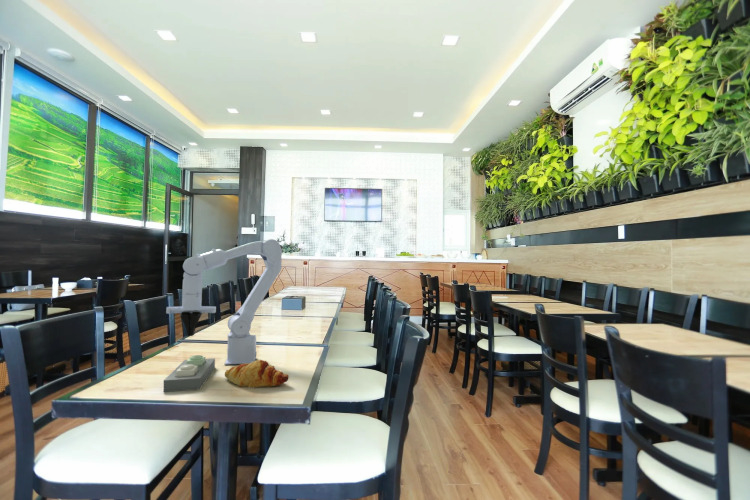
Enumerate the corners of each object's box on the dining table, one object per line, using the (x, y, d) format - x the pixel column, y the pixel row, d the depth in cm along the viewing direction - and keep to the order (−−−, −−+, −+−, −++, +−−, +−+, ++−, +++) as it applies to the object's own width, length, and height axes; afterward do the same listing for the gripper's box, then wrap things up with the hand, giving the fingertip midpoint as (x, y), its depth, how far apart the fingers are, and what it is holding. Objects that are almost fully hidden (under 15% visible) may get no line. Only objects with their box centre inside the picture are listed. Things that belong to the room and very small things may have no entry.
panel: (214, 367, 119) (214, 358, 119) (199, 389, 99) (200, 378, 100) (184, 369, 117) (184, 359, 117) (163, 391, 97) (163, 380, 97)
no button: (197, 375, 106) (197, 363, 106) (193, 380, 102) (193, 367, 102) (180, 376, 105) (181, 364, 105) (176, 381, 101) (176, 368, 101)
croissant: (218, 394, 105) (209, 373, 102) (238, 368, 114) (230, 349, 111) (283, 401, 100) (276, 379, 96) (299, 373, 108) (292, 353, 105)
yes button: (205, 365, 116) (205, 354, 116) (202, 370, 111) (202, 358, 112) (190, 366, 115) (190, 355, 115) (186, 370, 110) (186, 358, 111)
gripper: (218, 292, 125) (216, 332, 125) (171, 292, 122) (170, 333, 122) (214, 294, 118) (212, 336, 118) (164, 294, 115) (163, 337, 115)
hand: (190, 335), depth 119 cm, fingers closed
